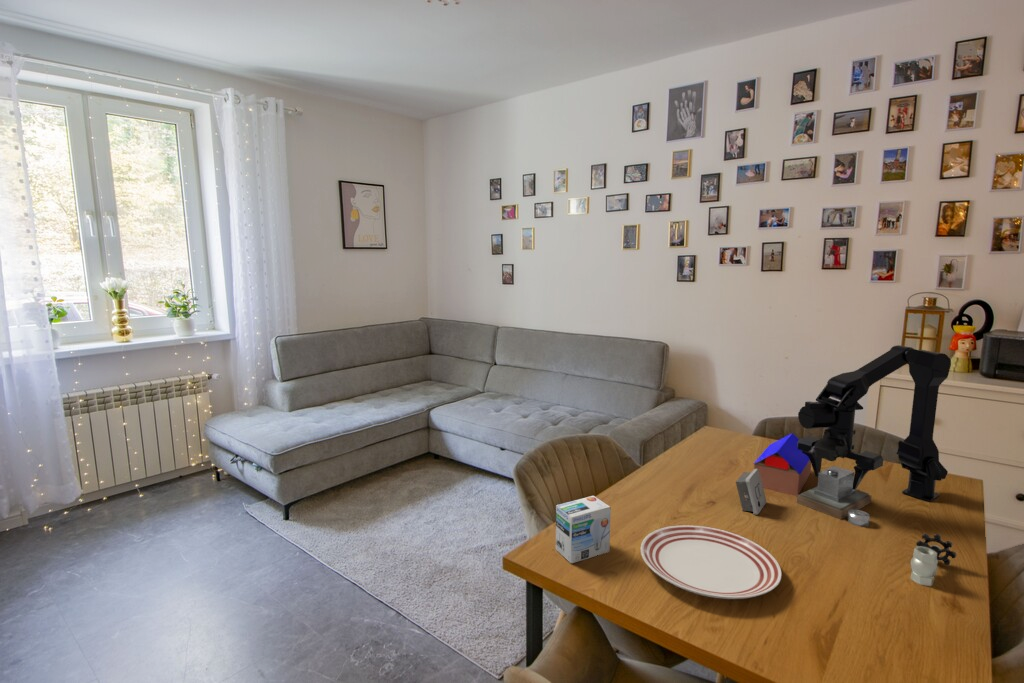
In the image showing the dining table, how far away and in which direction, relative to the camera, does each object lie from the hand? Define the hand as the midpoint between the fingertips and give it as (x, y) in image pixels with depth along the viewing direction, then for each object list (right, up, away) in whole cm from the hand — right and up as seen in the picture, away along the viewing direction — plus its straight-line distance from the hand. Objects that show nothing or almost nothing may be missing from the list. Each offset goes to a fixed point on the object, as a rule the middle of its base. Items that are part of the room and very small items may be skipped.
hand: (835, 483), depth 137 cm
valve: (0, -11, -30) cm, 32 cm away
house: (-6, -4, +16) cm, 17 cm away
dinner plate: (-44, -11, -28) cm, 53 cm away
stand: (0, -5, +1) cm, 6 cm away
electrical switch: (-23, -6, -1) cm, 24 cm away
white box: (-69, -10, -21) cm, 73 cm away
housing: (0, -3, 0) cm, 3 cm away
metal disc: (0, -7, -9) cm, 12 cm away
